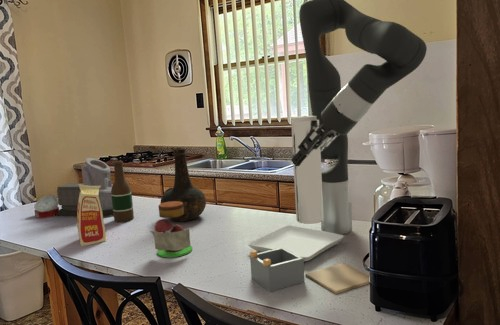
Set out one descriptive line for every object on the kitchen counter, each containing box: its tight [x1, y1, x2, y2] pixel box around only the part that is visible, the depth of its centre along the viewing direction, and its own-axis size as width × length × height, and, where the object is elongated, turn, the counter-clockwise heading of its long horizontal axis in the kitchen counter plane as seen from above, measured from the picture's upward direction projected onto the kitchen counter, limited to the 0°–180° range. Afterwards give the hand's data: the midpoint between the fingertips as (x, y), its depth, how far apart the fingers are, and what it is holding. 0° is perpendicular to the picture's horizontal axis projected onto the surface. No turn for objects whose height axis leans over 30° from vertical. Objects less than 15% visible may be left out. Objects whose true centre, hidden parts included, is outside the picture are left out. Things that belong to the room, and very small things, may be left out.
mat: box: [305, 262, 370, 295], centre depth 103 cm, size 12×12×1 cm
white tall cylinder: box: [290, 115, 324, 225], centre depth 100 cm, size 6×6×25 cm
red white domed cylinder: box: [34, 194, 60, 219], centre depth 187 cm, size 11×10×10 cm
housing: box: [249, 247, 305, 293], centre depth 104 cm, size 10×10×7 cm
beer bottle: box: [111, 160, 135, 223], centre depth 169 cm, size 8×8×24 cm
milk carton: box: [76, 185, 107, 247], centre depth 145 cm, size 9×9×20 cm
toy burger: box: [149, 201, 193, 258], centre depth 129 cm, size 12×13×15 cm
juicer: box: [54, 157, 114, 219], centre depth 184 cm, size 30×16×24 cm, turn 74°
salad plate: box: [247, 224, 345, 262], centre depth 126 cm, size 21×21×3 cm
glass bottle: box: [160, 147, 207, 222], centre depth 165 cm, size 18×18×28 cm
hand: (300, 161), depth 101 cm, fingers closed on white tall cylinder, 6 cm apart
